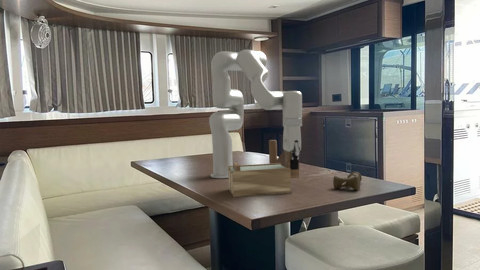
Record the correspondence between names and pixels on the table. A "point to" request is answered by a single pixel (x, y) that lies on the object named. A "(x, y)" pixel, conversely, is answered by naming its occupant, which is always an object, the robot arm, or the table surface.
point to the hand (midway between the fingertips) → (292, 167)
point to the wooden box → (259, 181)
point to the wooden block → (274, 154)
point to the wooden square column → (293, 172)
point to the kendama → (348, 181)
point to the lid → (254, 167)
